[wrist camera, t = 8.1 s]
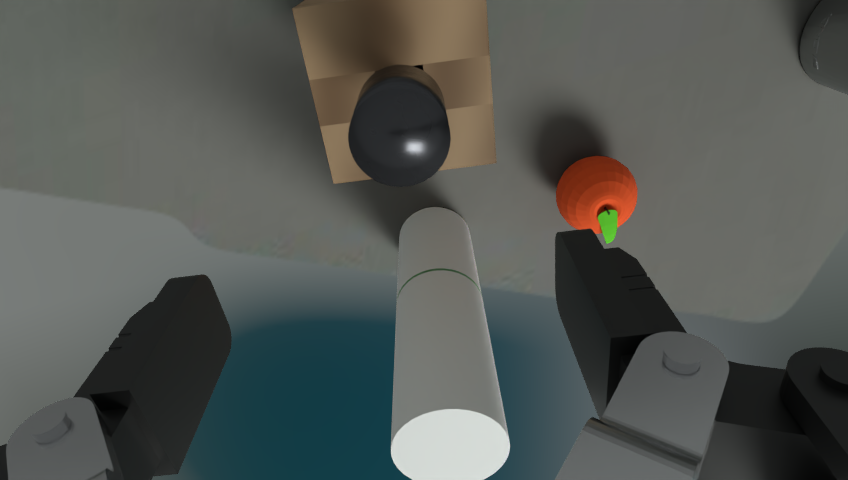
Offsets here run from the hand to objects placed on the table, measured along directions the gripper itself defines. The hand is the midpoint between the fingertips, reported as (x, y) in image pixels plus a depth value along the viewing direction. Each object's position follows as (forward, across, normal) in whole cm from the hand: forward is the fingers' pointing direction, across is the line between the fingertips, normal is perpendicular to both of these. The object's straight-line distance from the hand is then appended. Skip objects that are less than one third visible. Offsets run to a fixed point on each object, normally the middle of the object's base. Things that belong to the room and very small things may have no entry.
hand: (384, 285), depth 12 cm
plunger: (+34, 0, 0) cm, 34 cm away
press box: (+36, 0, 0) cm, 36 cm away
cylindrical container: (+36, 0, +20) cm, 41 cm away
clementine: (+36, -15, +16) cm, 42 cm away
